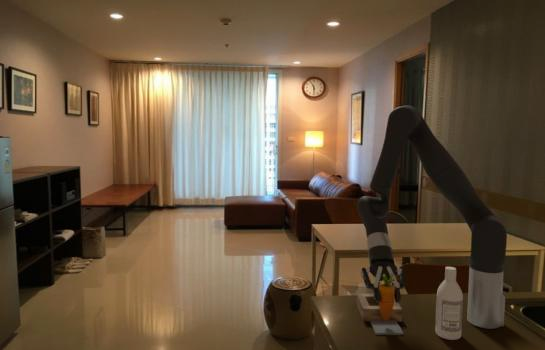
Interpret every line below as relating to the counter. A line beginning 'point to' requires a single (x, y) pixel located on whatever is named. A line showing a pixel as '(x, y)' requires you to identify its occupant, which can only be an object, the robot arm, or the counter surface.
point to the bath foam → (449, 307)
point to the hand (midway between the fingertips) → (388, 301)
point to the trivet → (386, 327)
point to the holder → (375, 308)
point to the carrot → (386, 297)
